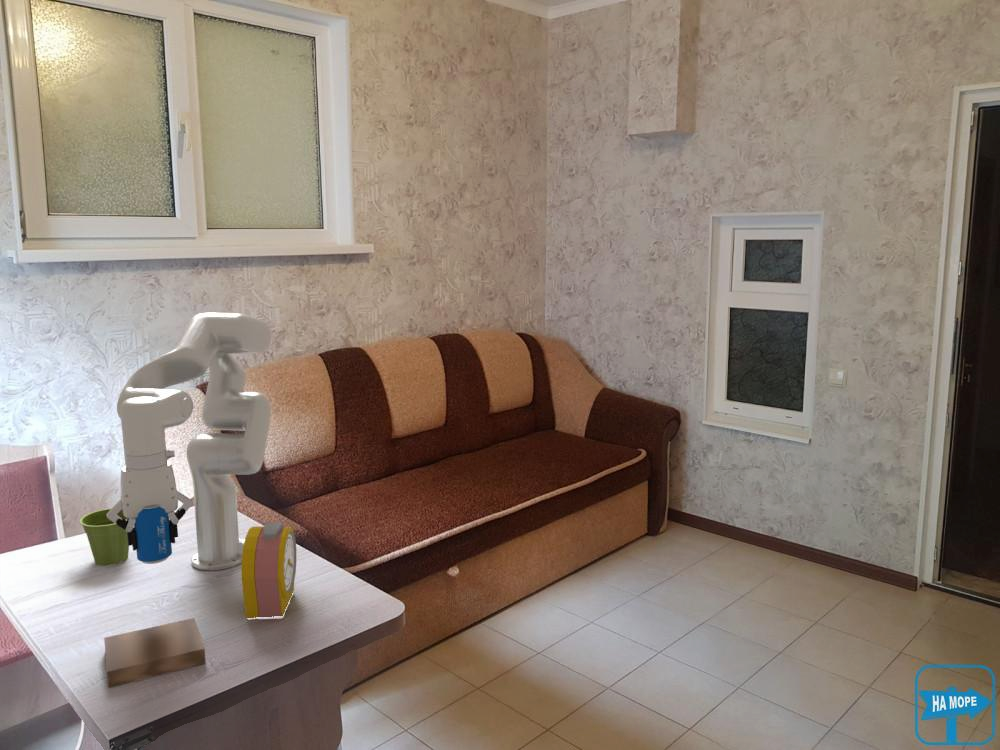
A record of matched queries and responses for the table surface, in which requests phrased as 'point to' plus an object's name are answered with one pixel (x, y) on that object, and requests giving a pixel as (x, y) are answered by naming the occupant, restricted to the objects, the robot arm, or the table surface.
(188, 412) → the robot arm
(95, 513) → the plant pot
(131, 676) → the walnut board
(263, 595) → the alarm clock
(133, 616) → the table surface
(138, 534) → the beverage can
